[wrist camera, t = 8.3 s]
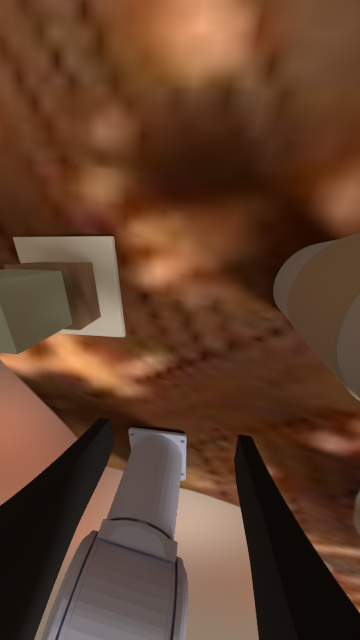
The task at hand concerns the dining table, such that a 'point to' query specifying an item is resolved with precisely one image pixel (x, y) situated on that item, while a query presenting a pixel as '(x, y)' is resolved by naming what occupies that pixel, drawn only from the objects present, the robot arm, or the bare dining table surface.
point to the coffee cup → (326, 304)
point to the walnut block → (73, 289)
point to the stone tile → (104, 268)
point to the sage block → (31, 308)
